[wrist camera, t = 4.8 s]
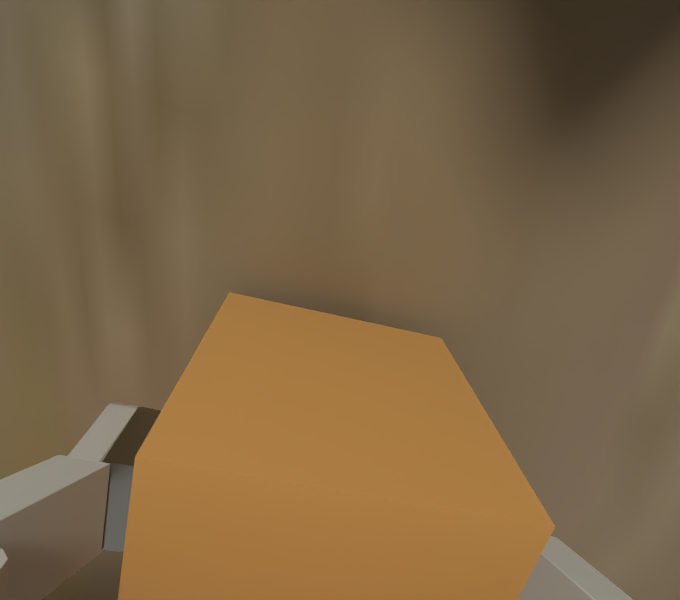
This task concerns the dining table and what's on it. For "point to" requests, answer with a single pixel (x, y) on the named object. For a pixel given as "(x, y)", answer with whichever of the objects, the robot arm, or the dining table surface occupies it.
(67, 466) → the robot arm
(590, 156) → the dining table surface
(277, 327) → the tan wooden cube
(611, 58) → the dining table surface
